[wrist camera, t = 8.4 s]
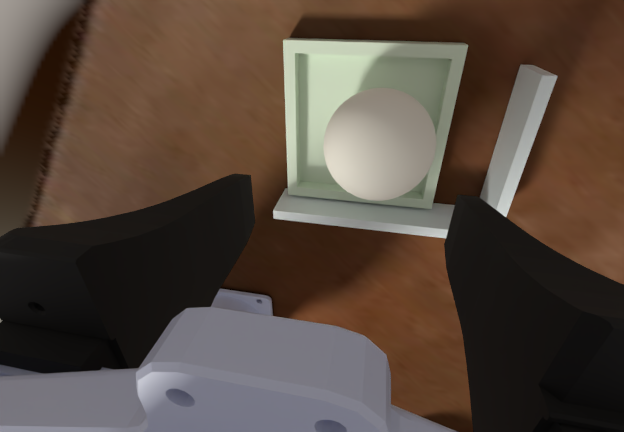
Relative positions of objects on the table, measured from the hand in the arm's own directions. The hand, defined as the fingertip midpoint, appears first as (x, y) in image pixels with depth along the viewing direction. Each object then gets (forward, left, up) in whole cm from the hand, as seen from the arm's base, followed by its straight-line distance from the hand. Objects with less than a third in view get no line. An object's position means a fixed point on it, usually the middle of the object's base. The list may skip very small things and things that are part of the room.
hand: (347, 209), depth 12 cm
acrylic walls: (+2, -1, -10) cm, 10 cm away
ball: (0, 0, -9) cm, 9 cm away
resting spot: (0, 0, -10) cm, 10 cm away
